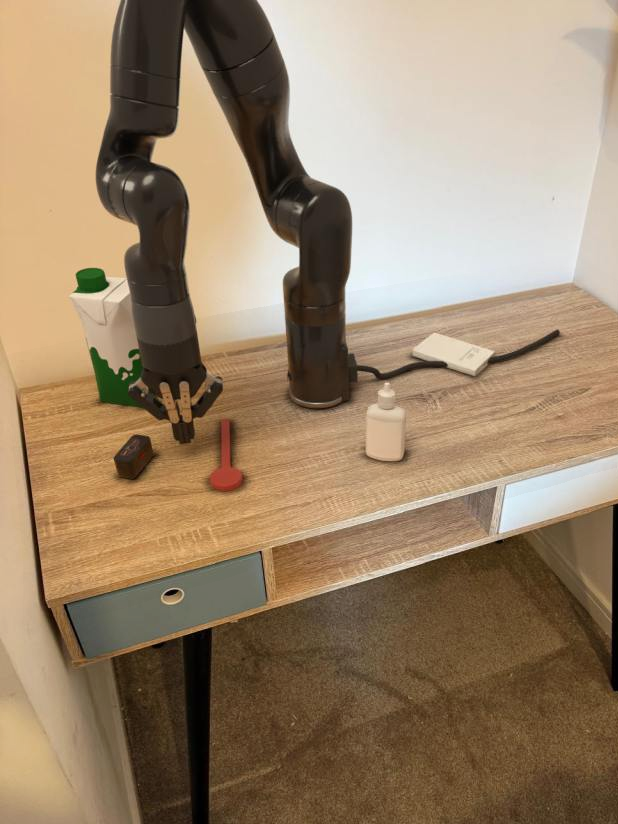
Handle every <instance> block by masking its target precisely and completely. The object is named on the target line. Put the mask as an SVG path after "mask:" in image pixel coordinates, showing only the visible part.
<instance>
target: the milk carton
mask: <svg viewBox="0 0 618 824" xmlns="http://www.w3.org/2000/svg"><path fill="white" fill-rule="evenodd" d="M75 278H76V282H77V283H76V284H77V287H76V289H75V290H74V291H73V292H72V293H71V294H70V295H69V297H68V298H69V299H70V301H71V304H72V306H73V307H74V309H75V311H76V313H77V315H78V317H79V319H80V323H81V327H82V329H83V334H84V338H85V342H86V344H87V349H88V352H89V357H90V360H91V363H92V364H91V365H92V368H93V371H94V377H95V381H96V386H97V393H98V396H99V402H101V403H107V404H115V405H122V406H128V407H136V408H143V407H142V406H140V405H139V404H138V403H137V402H135V401H134V400H133V399H132V398H130V397H129V396H128V391H129V385H130V382H132V381H137V380H138V379H140V378H141V371H142V369H143V366H142V361H141V356H140V351H139V346H138V342H137V337H136V332H135V327H134V322H133V317H132V305H131V296H130V291H129V286H128V281H127V277H113V276H106V273H105V271H104V269H102V268H99V267H86V268H82V269H80V270H78V271H77V272H76V273H75ZM148 389H149V390H148V391H149V392H150V393H151V394H152V395H154V394H155V393H154V392H153V391H152V390H151V389H150V388H148Z"/></svg>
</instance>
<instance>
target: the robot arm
mask: <svg viewBox="0 0 618 824" xmlns="http://www.w3.org/2000/svg"><path fill="white" fill-rule="evenodd" d="M114 19H115V20H114V24H113V29H112V35H111V43H110V61H109V63H110V66H109V67H110V68H109V69H110V70H109V71H110V73H109V77H110V78H109V80H110V81H109V86H110V87H109V93H110V94H109V102H110V103H109V104H110V105H109V106H110V107H109V114H108V117H107V120H106V123H105V126H104V130H103V134H102V138H101V143H100V147H99V151H98V155H97V160H96V165H95V186H96V192H97V196H98V199H99V201H100V203H101V205H102V207H103V208H104V209H105V211H106V212H107V213H108V214H109V215H111V216H112V217H114V218H115V219H119V220H121V221H123V222H126V223H129V224H132V225H134V226H136V227H137V229H138V233H139V242H136V243H134V244H132V245H130V246H129V247H128V248H127V250H126V251H125V253H124V255H123V257H124V258H123V263H124V271H125V278H126V279H127V281H128V286H129V291H130V296H131V305H132V317H133V322H134V327H135V332H136V337H137V342H138V346H139V351H140V356H141V361H142V366H143V369H142V371H141V378H140V379H138V380H137V381H132V382H130V385H129V391H128V396H129V397H130V398H132V399H133V400H134V401H135V402H137V403H138V404H139V405H140V406H142V407H141V408H143V409H144V410H145V411H147V413H148V414H150V415H151V416H152V417H154V418H155V419H156V420H158V421H163V420H166V421H168V422H169V423H170V425H171V429H172V435H173V439H174V440H175V441H176V442H177V441H178V442H179V445H188V444H191V442H192V440H193V441H194V439H195V436H196V429H195V422H194V419H196V418H198V419H202V418H204V417H205V415H206V414H207V412H208V411H209V410H210V409H211V407H212V405H214V403H215V402H216V400H217V399H218V398H219V397H220V395H221V394H222V392H224V379H223V377H222V376H219V375H217V376H216V375H215V376H213V375H212V374H210V373H208V370H207V366H205V364H204V363H203V361H202V355H201V349H200V343H199V342H200V341H199V335H198V329H197V316H196V314H195V309H194V305H193V301H192V298H191V294H190V287H189V280H188V275H187V268H186V263H185V260H186V259H185V258H186V252H187V245H188V235H189V226H190V216H191V215H190V213H191V208H190V207H191V205H190V198H189V194H188V191H187V189H186V186H185V184H184V182H183V180H182V179H181V176H179V175H178V174H177V172H175V170H173V169H171V168H170V167H168V166H167V165H163V164H160V163H157V162H154V161H152V160H153V155H154V151H155V147H156V144H157V142H158V140H159V139H167V138H170V137H172V136H173V135H175V133H176V131H177V128H178V126H179V125H178V124H179V117H180V115H179V114H180V113H179V112H180V108H179V107H180V97H181V80H182V79H181V78H182V77H181V76H182V58H183V57H182V56H183V44H184V43H183V42H184V32H185V34H186V35H187V38H188V40H189V42H190V45H191V47H192V49H193V51H194V54H195V56H196V58H197V61H198V64H199V65H200V68H201V70H202V72H203V74H204V76H205V79H206V81H207V83H208V85H209V87H210V89H211V92H212V94H213V95H214V98H215V99H216V101H217V103H218V105H219V107H220V109H221V111H222V113H223V115H224V117H225V119H226V121H227V124H228V126H229V128H230V131H231V132H232V135H233V136H234V139H235V141H236V143H237V145H238V147H239V149H240V151H241V153H242V156H243V158H244V159H245V162H246V165H247V167H248V170H249V172H250V175H251V177H252V180H253V181H252V182H253V184H254V186H255V190H256V193H257V195H258V198H259V201H260V204H261V207H262V209H263V212H264V215H265V219H266V220H267V222H268V225H269V227H270V228H271V230H272V231H273V232H274V234H275V235H276V236H277V237H278V238H279V239H280V240H282V241H284V242H285V243H287V244H289V245H291V246H294V247H296V248H298V266H296V267H294V268H290V269H289V270H288V271H287V272H286V273H285V274H284V276H283V278H282V297H283V308H284V310H283V311H284V324H285V339H286V352H287V353H286V354H287V368H288V369H287V373H286V374H287V375H286V377H287V378H286V379H287V381H288V387H289V388H288V393H289V397H290V399H291V401H292V402H293V403H294V404H297V405H298V406H301V407H304V408H309V409H326V408H331V407H335V406H337V405H339V404H341V403H345V402H349V399H350V398H349V384H355V383H358V375H359V374H358V372H364V373H370V374H373V375H374V377H375V378H376V379H378V380H389V379H392V378H394V377H397V376H400V375H401V374H403V373H406V372H409V371H412V370H414V369H415V370H416V369H420V368H447V366H448V364H447V363H446V362H443V361H426V360H423V361H416V362H412V363H408V364H406V365H404V366H401V367H399V368H397V369H395V370H392V371H390V372H385V373H384V372H383V373H381V372H380V371H379V369H377V368H375V367H373V366H368V365H361V364H360V365H359V364H357V360H356V356H355V353H349V347H348V343H347V324H346V323H347V319H346V314H347V313H346V310H347V309H346V285H347V283H348V280H349V277H350V273H351V268H352V249H353V248H352V247H353V246H352V245H353V212H352V208H351V204H350V201H349V198H348V197H347V195H346V194H345V193H344V192H343V191H342V190H341V189H339V188H338V187H335V186H334V185H330V184H328V183H325V182H322V181H321V180H318V179H315V178H312V177H311V176H310V175H309V173H308V172H307V170H306V169H305V167H304V165H303V163H302V161H301V159H300V157H299V155H298V151H297V150H296V148H295V145H294V142H293V140H292V137H291V133H290V126H289V125H290V124H289V117H290V102H291V88H290V87H291V86H290V78H289V72H288V69H287V65H286V61H285V59H284V58H283V54H282V51H281V49H280V46H279V44H278V41H277V38H276V35H275V33H274V31H273V28H272V25H271V23H270V21H269V18H268V16H267V15H266V12H265V11H264V9H263V7H262V6H261V4H260V3H259V1H258V0H120V1H119V5H118V8H117V12H116V15H115V18H114ZM560 334H561V331H560V330H559V329H556V330H554V331H552V332H550V333H548V334H546V335H545V336H543V337H542V338H540V339H538V340H536V341H534V342H531V343H530V344H527V345H525V346H524V347H523V346H522V347H521V348H519V349H516V350H514V351H511V352H507V353H504V354H500V355H497V356H496V355H495V357H491V358H489V360H488V362H487V363H488V365H490V364H492V363H493V364H494V363H499V362H503V361H506V360H510V359H513V358H515V357H518V356H520V355H523V354H526V353H527V352H529V351H531V350H533V349H535V348H537V347H539V346H542V345H543V344H545V343H547V342H548V341H550V340H552V339H553V338H555V337H557V336H558V335H560ZM203 384H204V391H203V393H202V394H201V396H199V398H198V400H197V401H196V403H195V404H193V403H192V398H194V396H196V395H197V393H198V391H199V390H200V389H201V387H202V386H203ZM148 388H150V389H151V390H152V391H153V392H154V393H153V394H151V393H150V392H149V391H148V390H149V389H148ZM154 394H155V395H156V396H157V397H159V399H158V398H157V397H156V396H155V395H154ZM160 399H162V400H163V402H162V401H161V400H160ZM178 400H179V401H180V405H179V402H178ZM180 406H181V409H180Z"/></svg>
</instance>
